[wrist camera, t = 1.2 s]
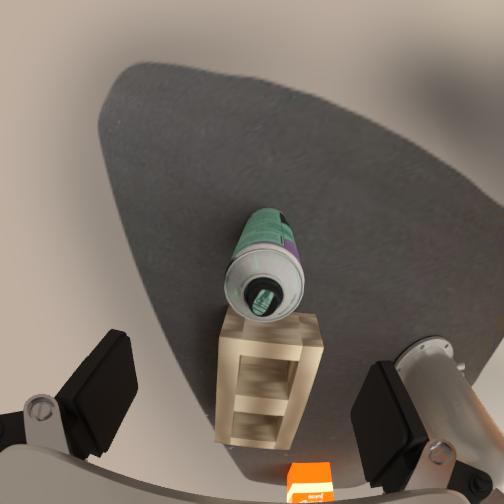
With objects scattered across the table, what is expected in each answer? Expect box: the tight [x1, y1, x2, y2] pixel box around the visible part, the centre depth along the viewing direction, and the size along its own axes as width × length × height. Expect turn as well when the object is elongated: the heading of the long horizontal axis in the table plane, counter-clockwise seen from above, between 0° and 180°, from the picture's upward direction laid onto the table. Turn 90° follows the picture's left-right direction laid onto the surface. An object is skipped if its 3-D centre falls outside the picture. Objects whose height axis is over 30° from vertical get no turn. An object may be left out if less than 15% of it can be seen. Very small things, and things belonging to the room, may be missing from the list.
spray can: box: [224, 208, 304, 322], centre depth 26 cm, size 6×6×20 cm
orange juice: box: [287, 462, 334, 503], centre depth 42 cm, size 8×9×20 cm
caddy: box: [215, 304, 324, 450], centre depth 38 cm, size 12×22×8 cm, turn 174°
